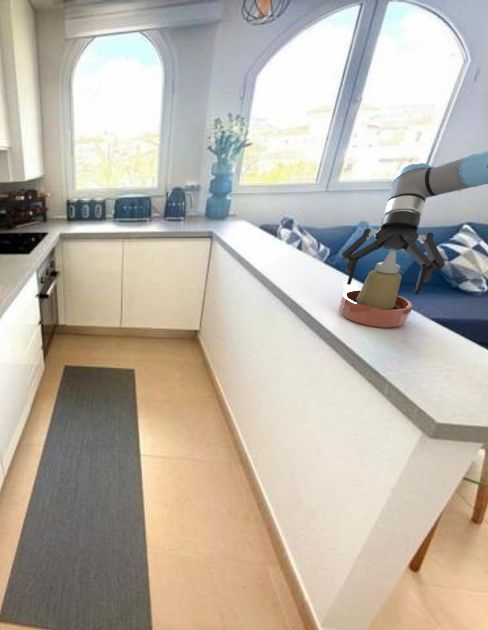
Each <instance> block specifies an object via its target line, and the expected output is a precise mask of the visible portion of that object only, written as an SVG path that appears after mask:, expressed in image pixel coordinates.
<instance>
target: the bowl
mask: <svg viewBox="0 0 488 630" xmlns="http://www.w3.org/2000/svg"><path fill="white" fill-rule="evenodd" d="M361 289H362V288H358V289H357V288H356V289H349V290H346V291H344V292H343V293H342V296H341V300H340V303H339V307H338V312H339V314H341V315H342V316H343V317H344V318H345V319H347V320H349V321H351V322H354V323H356V324H359V325H363V326H367V327H373V328H383V329H384V328H385V329H386V328H387V329H389V328H395V327H401V326H404V325H405V324H406V323H407V321H408V320H409V318H410V314H411V312H412V310H413V307H414V305H413V302H412V301H410V300H409V299H408V298H405V297H403V296H401V295H397V299H396V303H395V306H394V307H393V309H392V310H390V309H379V308H373V307H369V306H365V305H361V304H358V303H357V300H356V299H357V297H358V295H359V293H360V291H361Z"/></svg>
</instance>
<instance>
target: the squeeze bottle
mask: <svg viewBox="0 0 488 630" xmlns="http://www.w3.org/2000/svg"><path fill="white" fill-rule="evenodd" d="M397 251H398V250H390V251H389V253H388V254H387V256H386V257H385V259H384V260H383V261H382V262H378V263H376V265H375V268H374V269H372V270H370V271H369V272H368V274H367V276H366V278H365V280H364V282H363V284H362V287H361V288H360V289H361V291H360V293H359V295H358V297H357V299H356V300H357V303H358V304H361V305H365V306H369V307H373V308H379V309H390V310H392V309H393V307H394V306H395V303H396V299H397V295H398V294H399V290H400V286H401V281H402V278H403V276H402V275H401V274H400V273H399V272H400V271H401V266H400V264H397ZM398 296H399V295H398Z"/></svg>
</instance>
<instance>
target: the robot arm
mask: <svg viewBox="0 0 488 630" xmlns="http://www.w3.org/2000/svg"><path fill="white" fill-rule="evenodd" d="M484 185H488V150H486V151H483V152H477V153H473V154H469V155H468V156H464V157H462V158H461V157H460V158H458V159H455V160H451V161H449V162H446V163H443V164H439V165H436V166H432V165H430V164H428V163H424V162H419V163H410V164H408V165H404V166H403V167H402V168H400V169H399V170H398V171H397V172H396V174H395V177H394V179H393V181H392V183H391V189H390V193H389V196H388V200H387V203H386V206H385V209H384V212H383V217H382V219H381V223H380V226H379V229H378V230H377V231H374V230H371V228H365V230H364V231H363V233H362V235H361V236H359V238H358V239H356V240H355V241H354V242H353V243H352V244H351V245H350V246H349V247H347V249H345V251H343V252H342V254H341V257H340V259H341V260H342V261H346V262H347V264H346V267H345V272H346V273H349V276H348V279H347V282H346V285H349V286H351V284H352V281H353V278H354V274H355V271H356V267H357V264H358V261H359V260H360V259H362V258H364V257H365V256H367V255H369V254H371V253H372V252H374V251H377V250H380V249H381V248H384V250H391V249H392V250H394V251H400V250H403V251H404V252H405V253H407V254H408V255H410V257H412V259H413V260H414V261H415V262H416V263H417V264H418V265H419V266H420V268H421V269H420V271H419V273H418V277H417V281H416V285H415V289H414V295H419V294H420V293H421V291H422V290H423V286H424V283H428V282H429V281H430V280H431V278H432V275H433V272H434V271H438V272H439V271H441V270H442V269H444V267H445V265H446V263H445V260H444V258H443V256H442V255H441V252H440V251H439V249H438V246H437V244H436V243H435V241H434V233H433V232H428V233H427V234H419V233H418V229H419V225H420V223H421V217H422V215H423V211H424V207H425V203H426V201H427V198H432V197H436V196H439V195H440V196H441V195H443V194H449V193H453V192H457V191H461V190H466V189H471V188H476V187H480V186H484ZM372 238H375V240H374V241H373V242H372V243H370V244H368V245H366V246H365V247H363V248H361V249H360V247H361V246H363V245H364V244H365V243H366V242H367V241H368V240H371V239H372ZM417 241H419V242H420V244H421V245H423V248H424V251H425V252H426V254H427V255H426V254H425V253H424V252H423V251H422V250H421V249H420V248H419V247H418V246H417V243H416V242H417ZM358 249H360V250H358Z"/></svg>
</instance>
